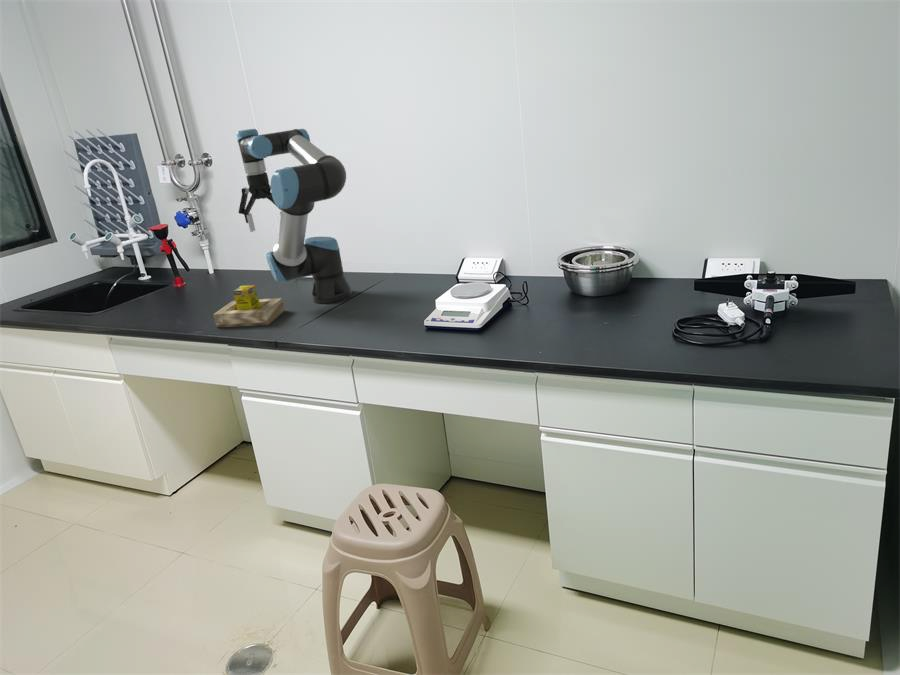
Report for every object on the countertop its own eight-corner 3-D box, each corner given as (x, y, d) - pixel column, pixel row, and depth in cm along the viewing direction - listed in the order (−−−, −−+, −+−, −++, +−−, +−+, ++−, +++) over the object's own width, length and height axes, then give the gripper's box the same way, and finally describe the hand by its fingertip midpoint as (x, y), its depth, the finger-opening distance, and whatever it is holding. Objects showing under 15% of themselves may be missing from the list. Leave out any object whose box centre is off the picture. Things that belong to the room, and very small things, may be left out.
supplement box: (254, 318, 230) (247, 290, 225) (239, 319, 231) (232, 290, 227) (262, 313, 235) (255, 284, 231) (247, 313, 236) (240, 285, 232)
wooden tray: (284, 310, 237) (281, 298, 236) (268, 325, 225) (264, 311, 223) (235, 313, 242) (232, 300, 240) (216, 327, 229) (213, 314, 227)
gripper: (291, 168, 238) (303, 224, 246) (230, 174, 243) (243, 229, 251) (283, 171, 231) (296, 229, 239) (220, 178, 236) (234, 234, 244)
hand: (269, 229), depth 245 cm, fingers open, 13 cm apart
